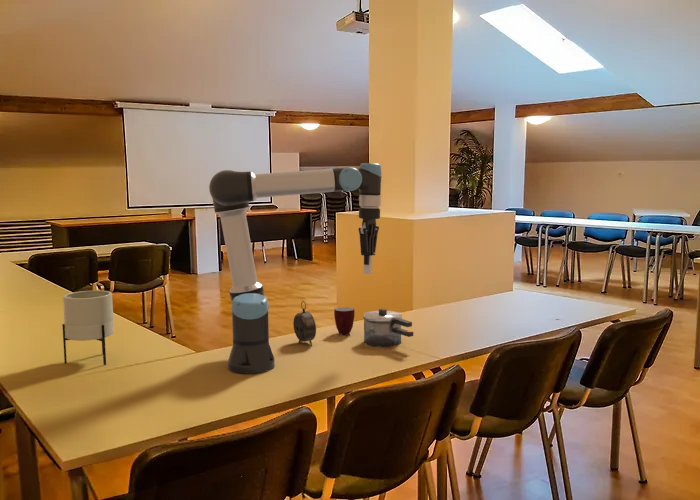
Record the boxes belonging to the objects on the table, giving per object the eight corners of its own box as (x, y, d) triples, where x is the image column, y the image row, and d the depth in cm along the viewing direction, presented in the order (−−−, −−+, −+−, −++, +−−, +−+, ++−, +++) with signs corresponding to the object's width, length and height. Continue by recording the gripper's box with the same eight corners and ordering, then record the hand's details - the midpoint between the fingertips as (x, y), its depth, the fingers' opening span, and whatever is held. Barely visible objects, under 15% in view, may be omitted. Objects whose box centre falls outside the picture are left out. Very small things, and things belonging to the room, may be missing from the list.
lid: (392, 329, 212) (392, 320, 212) (355, 316, 232) (355, 308, 232) (425, 324, 220) (425, 315, 220) (386, 312, 240) (387, 304, 240)
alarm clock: (317, 346, 226) (316, 302, 224) (304, 348, 223) (303, 304, 221) (303, 339, 235) (303, 297, 233) (291, 341, 233) (290, 299, 231)
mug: (352, 338, 237) (352, 312, 236) (332, 337, 238) (332, 312, 237) (355, 331, 247) (355, 307, 246) (335, 330, 248) (335, 306, 247)
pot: (396, 354, 214) (396, 329, 213) (356, 340, 233) (356, 317, 232) (425, 348, 222) (425, 324, 221) (385, 335, 241) (385, 312, 240)
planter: (65, 357, 212) (61, 292, 209) (114, 352, 218) (111, 289, 216) (63, 370, 198) (59, 300, 196) (116, 364, 204) (112, 296, 202)
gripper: (367, 206, 223) (365, 270, 226) (352, 207, 211) (350, 274, 214) (386, 207, 220) (384, 272, 222) (371, 208, 208) (369, 276, 211)
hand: (367, 273), depth 218 cm, fingers closed
